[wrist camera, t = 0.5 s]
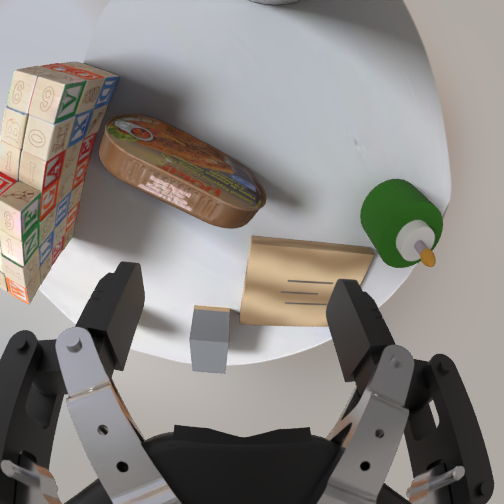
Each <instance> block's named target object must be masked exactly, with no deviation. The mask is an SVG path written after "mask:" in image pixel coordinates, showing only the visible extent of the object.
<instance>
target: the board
mask: <svg viewBox="0 0 504 504" xmlns="http://www.w3.org/2000/svg"><path fill="white" fill-rule="evenodd" d="M373 257H374V253H373V252H372V250H371V248H370V247H361V246H351V245H342V244H332V243H322V242H312V241H302V240H291V239H281V238H270V237H259V236H251V243H250V249H249V256H248V262H247V269H246V276H245V282H244V289H243V296H242V302H241V309H240V316H239V324H248V325H270V326H309V327H329V326H328V323H327V319H326V308H327V304H328V302H329V299H330V297H331V294H332V292H333V289H334V286H335V284H336V282H337V280H338V279H355V280H357V282H358V283H359V285H360V284H361V282H362V280H363V278H364V276H365V274H366V272H367V270H368V267H369V265H370V263H371V261H372V259H373Z"/></svg>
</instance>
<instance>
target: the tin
mask: <svg viewBox="0 0 504 504" xmlns="http://www.w3.org/2000/svg"><path fill="white" fill-rule="evenodd" d="M99 156H100V159H101V162H102V163H103V165H104V166H105V168H106V169H107V170H108V171H109V172H110V173H111V174H113V175H114V176H115V177H117V178H118V179H120V180H121V181H123V182H125V183H127V184H129V185H131V186H133V187H135V188H137V189H139V190H141V191H143V192H145V193H147V194H149V195H151V196H153V197H155V198H158V199H159V200H161V201H163V202H166V203H168V204H170V205H172V206H174V207H176V208H178V209H180V210H182V211H184V212H186V213H188V214H190V215H192V216H194V217H196V218H198V219H200V220H202V221H204V222H207V223H209V224H212V225H214V226H218V227H222V228H239V227H242V226H244V225H246V224H247V223H248V222H249V221H250V220H251V219H252V218H253V217H254V215H255V214H256V213H257V212H258V210H259V209H260V208H262V207H263V206H264V205H265V203H266V194H265V191H264V189H263V187H262V185H261V184H260V183H259V181H258V180H257V179H256V177H255V176H254V175H253V174H252V173H251V172H250V171H249V170H248V169H247V168H246V167H244V166H243V165H242V164H240V163H239V162H238V161H236V160H235V159H233V158H231V157H230V156H228V155H226V154H224V153H222V152H221V151H219V150H217V149H215V148H213V147H211V146H210V145H208V144H206V143H204V142H202V141H200V140H198V139H196V138H194V137H192V136H191V135H189V134H187V133H185V132H183V131H181V130H179V129H177V128H175V127H173V126H171V125H169V124H167V123H165V122H163V121H160V120H158V119H154V118H151V117H148V116H143V115H137V114H123V115H117V116H114V117H112V118H111V119H109V120H108V121H107V123H106V125H105V131H104V134H103V137H102V140H101V143H100V148H99Z"/></svg>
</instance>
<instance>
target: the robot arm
mask: <svg viewBox="0 0 504 504" xmlns="http://www.w3.org/2000/svg"><path fill="white" fill-rule="evenodd" d="M250 1H253V2H257V3H262V4H273V5H278V4H288V3H292V2H296V1H299V0H250ZM144 301H145V292H144V286H143V279H142V273H141V266H140V264H139V263H133V262H123V261H122V262H120V264H119V265H118V267H117V269H116V271H115V273H108V274H107V275H105V276H104V277H103V278H102V279H101V280H100V281H99V282H98V284H97V286H96V288H95V291H93V293H92V295H91V298H90V299H89V300H88V302H87V304H86V306H85V308H84V310H83V312H82V314H81V316H80V318H79V320H78V322H77V324H76V326H75V327H72V328H69V329H67V330H65V331H63V332H62V333H61V334H60V335H59V337H58V338H57V339H55V340H41V341H38V340H37V338H36V336H35V335H34V334H33V333H32V332H31V331H28V330H23V331H19V332H17V333H16V334H14V335H13V336H12V337H11V339H10V340H9V342H8V344H7V346H6V348H5V351H4V353H3V355H2V357H1V359H0V504H62V503H61V501H60V500H59V497H58V495H57V491H58V487H57V485H56V482H55V479H54V477H53V475H52V474H51V473H50V472H49V463H50V457H51V451H52V445H53V440H54V435H55V430H56V425H57V421H58V417H59V412H60V409H61V405H62V400H63V397H64V394H68V395H69V398H67V399H66V403H67V407H68V410H69V413H70V415H71V418H72V421H73V423H74V426H75V428H76V431H77V434H78V436H79V438H80V441H81V443H82V445H83V447H84V450H85V452H86V454H87V456H88V458H89V460H90V462H91V464H92V466H93V468H94V470H95V472H96V474H97V476H98V479H97V480H95V481H94V482H93V483H91V484H90V485H89V486H87V487H86V488H85V489H84V490H82V491H81V492H80V493H78V494H77V495H76V496H74V497H73V498H71V499H70V500H69V501H67V502H66V503H64V504H486V503H487V502H488V501H489V499H490V498H491V496H492V493H493V490H494V480H493V475H492V471H491V466H490V462H489V458H488V454H487V450H486V447H485V443H484V440H483V437H482V433H481V430H480V427H479V424H478V421H477V418H476V415H475V413H474V410H473V407H472V404H471V402H470V399H469V397H468V394H467V392H466V389H465V387H464V384H463V382H462V380H461V377H460V375H459V373H458V370H457V368H456V366H455V364H454V362H453V361H452V360H451V359H450V358H449V357H448V356H446V355H443V354H436V355H434V356H433V357H432V358H431V360H430V361H429V362H427V361H422V360H416V359H413V356H412V355H411V353H410V352H409V351H408V350H407V349H405V348H404V347H402V346H399V345H396V344H395V342H394V340H393V338H392V336H391V333H390V331H389V329H388V327H387V325H386V323H385V321H384V319H383V318H382V315H381V313H380V311H378V310H379V309H378V307H377V305H376V303H375V301H374V299H373V298H372V297H371V296H370V295H369V294H368V293H366V292H363V291H362V289H361V287H360V285H359V283H358V282H357V280H355V279H338V280H337V282H336V284H335V286H334V289H333V292H332V294H331V297H330V299H329V302H328V304H327V308H326V319H327V323H328V326H329V329H330V332H331V336H332V339H333V342H334V346H335V349H336V352H337V356H338V359H339V362H340V366H341V369H342V373H343V376H344V379H345V382H352V381H355V382H356V387H355V388H354V390H353V392H352V394H351V396H350V398H349V400H348V402H347V404H346V407H345V408H344V410H343V412H342V414H341V416H340V418H339V420H338V422H337V423H336V425H335V427H334V428H333V429H332V430H331V432H330V433H329V434H328V436H327V437H326V439H325V438H323V437H319V436H315V435H311V433H310V427H307V428H295V429H278V430H274V431H270V432H267V433H263V434H258V435H255V436H250V437H238V436H234V435H230V434H226V433H223V432H219V431H216V430H212V429H209V428H198V427H189V426H180V425H174V432H168V433H164V434H160V435H157V436H154V437H152V438H149V439H147V440H145V439H144V437H143V435H142V434H141V432H140V430H139V429H138V427H137V426H136V424H135V422H134V421H133V419H132V417H131V416H130V414H129V412H128V410H127V408H126V406H125V404H124V402H123V400H122V398H121V396H120V394H119V393H118V390H117V388H116V386H115V384H114V382H113V380H112V374H113V371H114V369H115V370H120V371H123V370H124V366H125V363H126V360H127V356H128V353H129V350H130V346H131V343H132V340H133V337H134V334H135V331H136V327H137V324H138V321H139V318H140V315H141V312H142V310H143V307H144ZM432 400H433V401H434V403H435V407H436V410H437V412H438V416H439V425H438V427H437V428H436V425H435V422H434V419H433V415H432V412H431V409H430V406H429V402H431V401H432ZM403 432H404V435H405V439H406V443H407V448H408V452H409V457H410V462H411V467H412V471H413V477H414V480H413V481H412V484H411V487H409V488H408V489H407V492H406V495H407V497H408V498H409V501H408V500H406V499H405V498H403V497H402V496H401V495H399V494H398V493H397V492H395V491H393V490H392V489H391V488H390V487H389V486H387V485H386V484H385V483H384V481H385V478H386V476H387V474H388V472H389V469H390V466H391V464H392V462H393V459H394V457H395V454H396V452H397V449H398V446H399V443H400V440H401V438H402V435H403Z"/></svg>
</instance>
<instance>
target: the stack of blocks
mask: <svg viewBox="0 0 504 504" xmlns="http://www.w3.org/2000/svg"><path fill="white" fill-rule="evenodd" d="M119 77H120V76H118V75H115V74H112V73H109V72H107V71H104V70H101V69H98V68H95V67H92V66H89V65H86V64H83V63H79V62H66V63H55V64H49V65H43V66H34V67H28V68H23V69H19V70H15V71H14V74H13V78H12V82H11V86H10V91H9V94H8V99H7V106H6V107H5V111H4V117H3V123H2V130H1V140H0V287H1V288H2V289H3V290H5V291H7V292H8V291H9V293H10V294H11V295H13V296H15V297H16V298H18V299H20V300H21V301H23V302H25V303H27V304H30V303H31V301H32V299H33V297H34V295H35V294H36V292H37V290H38V288H39V287H40V285H41V284H42V282H43V280H44V279H45V277H46V276H47V274H48V273H49V271H50V269H51V266H52V265H53V264H54V262H55V261H56V259H57V258H58V256H59V255H60V253H61V252H62V250H64V249H65V247H66V246H67V244H68V243H69V241H70V240H71V238H72V236H73V230H74V225H75V220H76V217H77V211H78V206H79V202H80V197H81V193H82V189H83V185H84V177H85V173H86V169H87V165H88V162H89V158H90V153H91V150H92V147H93V144H94V140H95V137H96V134H97V131H98V130H99V128H100V125H101V122H102V120H103V117H104V114H105V112H106V109H107V106H108V103H109V101H110V99H111V96H112V94H113V91H114V89H115V87H116V84H117V82H118V80H119Z"/></svg>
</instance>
